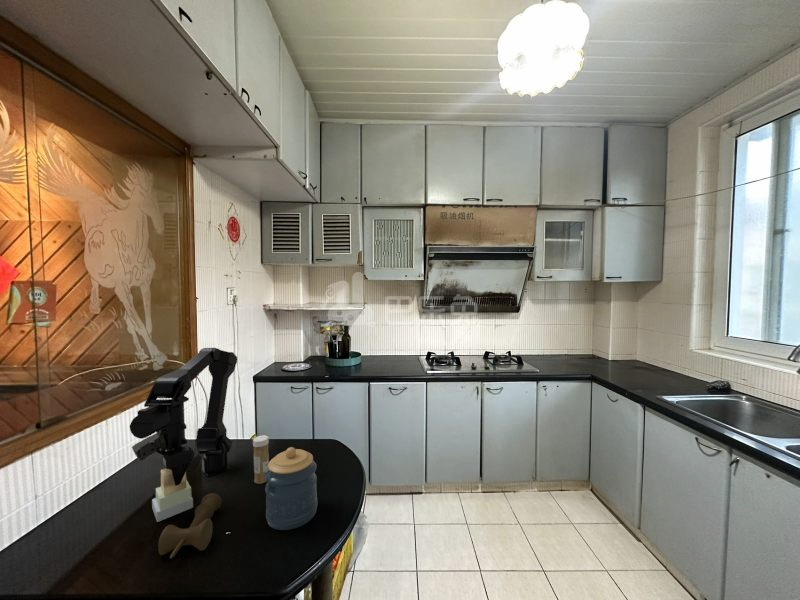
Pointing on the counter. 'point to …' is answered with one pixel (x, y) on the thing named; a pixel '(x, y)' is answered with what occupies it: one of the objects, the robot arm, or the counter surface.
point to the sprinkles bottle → (260, 458)
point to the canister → (291, 489)
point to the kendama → (191, 528)
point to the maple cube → (170, 482)
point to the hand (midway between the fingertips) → (173, 478)
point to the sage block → (172, 497)
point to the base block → (170, 509)
